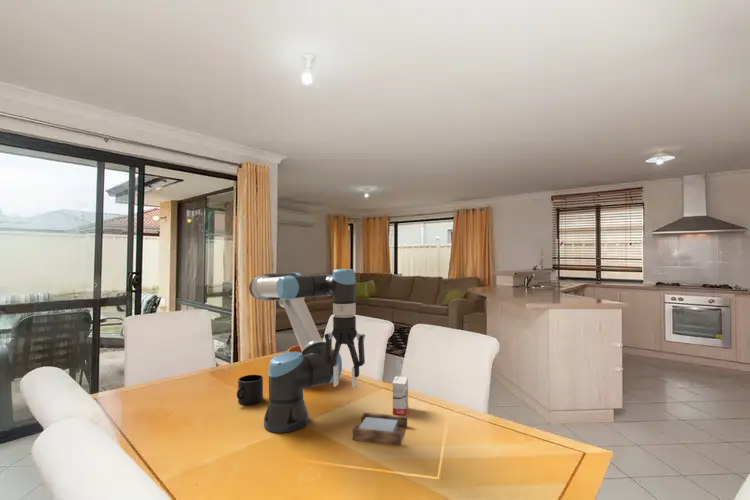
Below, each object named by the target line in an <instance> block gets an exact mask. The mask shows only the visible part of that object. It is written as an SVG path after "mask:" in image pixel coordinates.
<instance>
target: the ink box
mask: <svg viewBox="0 0 750 500" xmlns="http://www.w3.org/2000/svg"><path fill="white" fill-rule="evenodd" d="M408 410H409V379H408V377H407V376H399V375H397V376H396V375H395V377H394V379H393V381H392V415H396V416H406V415H407V412H408Z"/></svg>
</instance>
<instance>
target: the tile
mask: <svg viewBox="0 0 750 500" xmlns="http://www.w3.org/2000/svg"><path fill="white" fill-rule="evenodd" d="M358 428H361V429H370V430H380V431H389V432H396V431H397V429H398V420H392V419H382V418H371V417H365V419H364V421H363V422H362V424H361V423H360V425H359V426H358Z"/></svg>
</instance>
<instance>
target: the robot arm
mask: <svg viewBox="0 0 750 500" xmlns="http://www.w3.org/2000/svg"><path fill="white" fill-rule="evenodd" d="M356 283H357V281H356V272H355V270H354V269H352V268H339V269H338V268H336V269H333V271H332V274H330V273H321V274H309V275H307V274H306V275H305V274H301V273H299V272H293V271H291V272H280V273H279V272H278V273H277V272H276V273H275V272H273V273H261V274H259V275H257V276H255V277H253V278H252V279H251V281H250V282H249V285H248V291H249V294H250V296H251V297H253V298H254V299H255V300H259V301H262V302H263V301H264V302H270V301H271V302H272V301H277V303H278V305H279V306H280V307H281V308H284V309H285V312H286V314H287V316H288V320H289V322H290V325H291V327H292V329H293V333H294V335H295V338H296V340H297V343H298V345H300V348H301V350H302V352H282V353H280V354H277V355H275V356H274V357H272V358H271V360H270V361H269V364H268V372H267V375H268V405H267V407H266V410H265V415H264V417H263V427H264V429H265V430H266V431H269V432H273V433H279V434H280V433H290V432H295V431H298V430H300V429H303V428H304V427H306V426H307V425H308V423H309V412H308V409H307V406H306V403H305V400H304V390H307V389H310V388H311V389H312V388H315V387H319V386H320V387H321V386H325V385H329V384H331V383H333V387H334V388H335V387H337V386H338V385H339V380H340V377H341V375H342V370H343V360H342V356H341V353H340V350H341V348H342V347H341V346H342V345H347V347H348V350H349V353H350V357H351V359H352V363H353V364H352V365H353V366H352V367H351V389H355V388H356V387H357V385H358V383H357V381H358V380H357V378H359V377H360V367H362V366H364V365H365V364H366V360H365V357H366V356H365V337H366V334H364V333H362V334H361V333H358V330H357V323H356V322H357V317H356V316H355V315H356V313H357V312H356V311H357V310H356V309H357V306H356V304H357V303H356V298H357V297H356V286H357V285H356ZM327 296H328V297H332V314H333V315H334V316H333V317H332V327H333V329H332V331H331V332H327V333H325V334H324V339H325V341H323V339H322V337H321V335H320V333H319V331H318V328H317V326H316V324H315V321H314V319H313V317H312V314H311V313H310V310H309V308H308V306H307V304H306V301H305V298H315V297H316V298H317V297H327ZM333 338H334V339H335V344H334V347H333V346H332V345H333V344H332V343H333V341H332V340H333ZM355 338H356V339H357V342H358V343H357V347H358V348H357V349H358V351H357V350H356V346H355V341H354V340H355ZM332 347H333V349H332ZM357 352H358V353H357Z"/></svg>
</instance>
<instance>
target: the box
mask: <svg viewBox="0 0 750 500" xmlns="http://www.w3.org/2000/svg"><path fill="white" fill-rule="evenodd" d="M360 417H361V418H360V421H361V422H360V425H361V424H362V422H363V421H364V419H365V417H371V418H382V419H392V420H398V429H397V431H396V432H389V431H380V430H370V429H361V428H359V424H355V425H354V427H353V428H352V441H360V442H367V443H375V444H386V445H391V446H394V445H395V446H401V444H402V442H403V438H404V436H405V433H406V430H407V428H408V416H406V415H393V414H385V413H372V412H363V413H362V415H361V416H360Z"/></svg>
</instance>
